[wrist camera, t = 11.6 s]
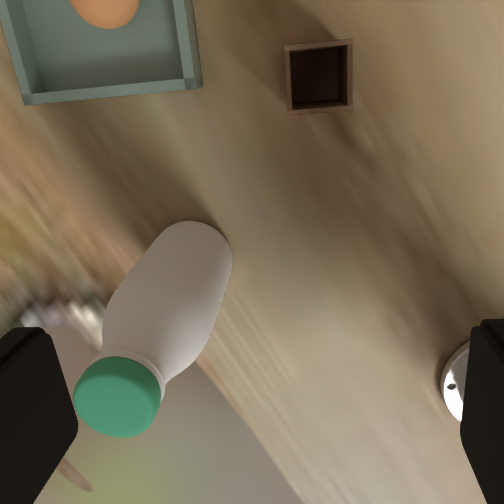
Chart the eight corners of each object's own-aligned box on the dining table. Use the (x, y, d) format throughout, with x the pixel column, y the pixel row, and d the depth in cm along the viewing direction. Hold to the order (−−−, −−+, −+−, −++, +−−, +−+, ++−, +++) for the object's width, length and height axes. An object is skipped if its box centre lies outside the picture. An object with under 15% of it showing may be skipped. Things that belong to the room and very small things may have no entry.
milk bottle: (172, 204, 39) (62, 325, 21) (247, 241, 40) (205, 389, 21) (144, 270, 42) (27, 427, 24) (214, 303, 43) (153, 479, 25)
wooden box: (341, 43, 32) (352, 38, 26) (342, 101, 34) (352, 109, 28) (286, 49, 33) (283, 45, 27) (289, 106, 35) (287, 115, 28)
